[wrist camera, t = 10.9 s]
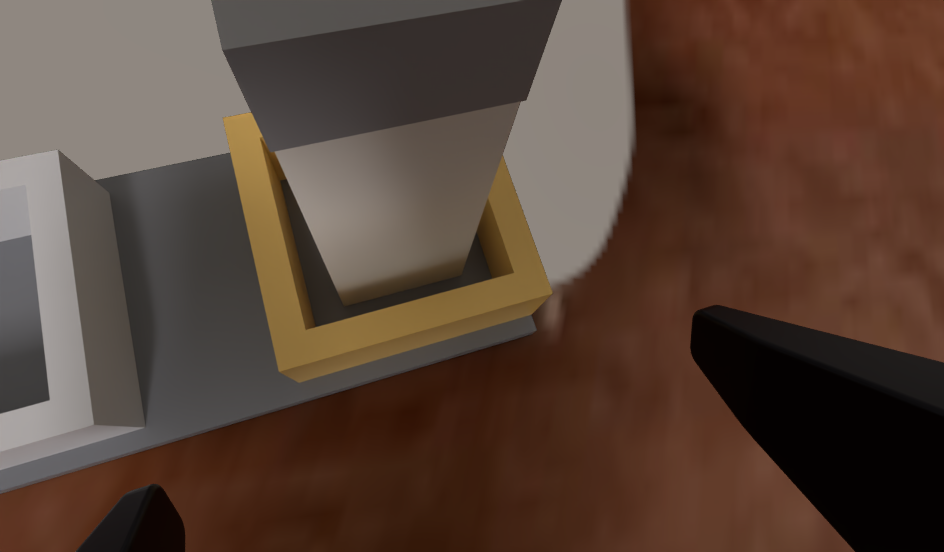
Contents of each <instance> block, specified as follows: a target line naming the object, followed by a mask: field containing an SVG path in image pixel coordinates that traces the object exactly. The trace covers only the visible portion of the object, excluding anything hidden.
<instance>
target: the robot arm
mask: <svg viewBox="0 0 944 552" xmlns="http://www.w3.org/2000/svg"><path fill="white" fill-rule="evenodd" d="M690 349H691V354H692V357H693V359H694V361H695V362H696V364H697V365H698V366H699V368H700V369H701V370H702V372H703V373H704V374H705V376H706V377H707V379H708V380H709V381H710V383H711V384H712V385H713V387H714V388H715V389H716V391H717V392H718V394H719V395H720V396H721V398H722V399H723V400H724V402H725V403H726V404H727V406H728V407H729V409H730V410H731V411H732V413H733V414H734V415H735V417H736V418H737V419H738V421H739V422H740V423H741V424H742V426H743V427H744V428H745V429H746V430H747V432H748V433H749V434H750V435H751V436H752V438H753V439H754V440H755V441H756V442H757V443H758V444H759V445H760V446H761V448H762V449H763V450H764V451H765V452H766V453H767V454H768V455H769V456H770V458H771V459H772V460H773V461H774V462H775V463H776V464H777V465H778V466H779V468H780V469H781V470H782V471H783V472H784V473H785V474H786V475H787V477H788V478H789V479H790V480H791V481H792V482H793V483H794V484H795V485H796V487H797V488H798V489H799V490H800V491H801V492H802V493H803V494H804V495H805V497H806V498H807V499H808V500H809V501H810V502H811V503H812V504H813V505H814V507H815V508H816V509H817V510H818V511H819V512H820V513H821V514H822V515H823V517H824V518H825V519H826V520H827V521H828V522H829V523H830V524H831V525H832V527H833V528H834V529H835V530H836V531H837V532H838V533H839V534H840V535H841V537H842V538H843V539H844V540H845V541H846V542H847V543H848V544H849V545H850V547H851V548H852V549H853V550H854V551H855V552H944V363H943V362H939V361H935V360H931V359H928V358H924V357H920V356H916V355H912V354H908V353H904V352H900V351H896V350H892V349H888V348H884V347H881V346H877V345H873V344H869V343H865V342H861V341H857V340H853V339H849V338H845V337H841V336H838V335H834V334H830V333H826V332H822V331H818V330H814V329H810V328H806V327H802V326H798V325H795V324H791V323H787V322H783V321H779V320H775V319H771V318H767V317H763V316H759V315H755V314H752V313H748V312H744V311H740V310H736V309H732V308H728V307H724V306H720V305H713V306H709V307H706V308H703V309H700V310H698V311H696V312H695V313H694V315H693V319H692V331H691V344H690ZM76 552H185V529H184V524H183V521H182V519H181V517H180V515H179V514H178V512H177V510H176V509H175V507H174V505H173V504H172V502H171V501H170V499H169V497H168V496H167V494H166V493H165V491H164V489H163V488H162V487H161V486H159V485H157V484H151V485H148V486H145V487H142V488H139V489H136V490H132V491H130V492H128V493H126V494H125V495H124V496H123V497H122V498H121V499H120V500H119V501H118V502H117V504H116V505H115V506H114V507H113V508H112V509H111V511H110V512H109V513H108V514H107V515H106V516H105V518H104V519H103V520H102V521H101V522H100V524H99V525H98V526H97V527H96V528H95V529H94V531H93V532H92V533H91V534H90V535H89V536H88V538H87V539H86V540H85V541H84V542H83V543H82V545H81V546H80V547H79V548H78V549H77V551H76Z"/></svg>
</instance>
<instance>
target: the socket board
mask: <svg viewBox="0 0 944 552" xmlns="http://www.w3.org/2000/svg"><path fill="white" fill-rule="evenodd" d="M223 121H224V126H225V130H226V135H227V139H228V144H229V149H230V153H226V154H222V155H217V156H212V157H207V158H202V159H197V160H192V161H188V162H183V163H178V164H173V165H168V166H163V167H159V168H153V169H149V170H143V171H139V172H134V173H129V174H124V175H119V176H115V177H110V178H105V179H100V180H93V179H92V178H91V177H90V176H89V175H87V174H86V173H85V172H84V171H83V170H82V169H80V168H79V167H78V166H77V165H76V164H74V163H73V162H72V161H71V160H70V159H68V158H67V157H66V156H65V155H64V154H63V153H61V152H60V151H59V150H53V151H48V152H42V153H37V154H32V155H26V156H21V157H16V158H11V159H6V160H0V494H1V493H5V492H8V491H11V490H15V489H18V488H21V487H25V486H28V485H31V484H35V483H38V482H41V481H45V480H48V479H51V478H55V477H58V476H61V475H65V474H68V473H71V472H75V471H78V470H81V469H85V468H88V467H91V466H95V465H98V464H101V463H105V462H108V461H111V460H115V459H118V458H121V457H125V456H128V455H131V454H135V453H138V452H141V451H145V450H148V449H151V448H155V447H158V446H161V445H165V444H168V443H171V442H175V441H178V440H181V439H185V438H188V437H191V436H194V435H198V434H201V433H204V432H208V431H211V430H214V429H218V428H221V427H224V426H228V425H231V424H234V423H238V422H241V421H244V420H248V419H251V418H254V417H258V416H261V415H264V414H268V413H271V412H274V411H278V410H281V409H284V408H288V407H291V406H294V405H298V404H301V403H304V402H308V401H311V400H314V399H318V398H321V397H324V396H328V395H331V394H334V393H338V392H341V391H344V390H348V389H351V388H354V387H358V386H361V385H364V384H368V383H371V382H374V381H378V380H381V379H384V378H388V377H391V376H394V375H398V374H401V373H404V372H408V371H411V370H414V369H418V368H421V367H424V366H428V365H431V364H434V363H438V362H441V361H444V360H448V359H451V358H454V357H458V356H461V355H464V354H467V353H471V352H474V351H477V350H481V349H484V348H487V347H491V346H494V345H497V344H501V343H504V342H507V341H511V340H514V339H517V338H521V337H524V336H527V335H531V334H533V333H534V332H535V331H537V329H536V327H535V324H534V321H533V318H532V314H533V313H534V312H535V311H536V310H537V309H538V308H539V307H540V306H541V305H542V304H543V303H544V302H545V301H546V300H547V299H548V298H549V297H550V296H551V295H552V294H553V293H552V290H551V287H550V284H549V282H548V279H547V276H546V273H545V270H544V268H543V265H542V262H541V259H540V257H539V254H538V251H537V248H536V246H535V243H534V240H533V238H532V235H531V232H530V229H529V226H528V224H527V221H526V218H525V215H524V213H523V210H522V207H521V204H520V202H519V199H518V196H517V193H516V190H515V188H514V185H513V183H512V180H511V177H510V174H509V171H508V169H507V166H506V163H505V160H504V157H503V155H502V158H501V161H500V164H499V166H498V169H497V172H496V175H495V178H494V181H493V184H492V187H491V190H490V193H489V196H488V199H487V202H486V204H485V207H484V210H483V213H482V216H481V219H480V222H479V225H478V228H477V231H476V234H475V237H474V240H473V242H472V245H471V248H470V251H469V254H468V257H467V260H466V263H465V266H464V269H463V272H462V275H461V276H457V277H454V278H450V279H446V280H442V281H439V282H435V283H431V284H427V285H424V286H420V287H416V288H412V289H408V290H405V291H401V292H397V293H393V294H390V295H386V296H382V297H378V298H375V299H371V300H367V301H363V302H360V303H356V304H352V305H348V306H344V305H343V303H342V301H341V299H340V296H339V294H338V292H337V290H336V288H335V285H334V283H333V281H332V279H331V276H330V274H329V272H328V270H327V267H326V265H325V263H324V261H323V259H322V256H321V254H320V252H319V250H318V247H317V245H316V243H315V241H314V239H313V236H312V234H311V232H310V230H309V227H308V225H307V223H306V221H305V218H304V216H303V214H302V212H301V210H300V207H299V205H298V203H297V201H296V198H295V196H294V194H293V192H292V189H291V187H290V185H289V183H288V181H287V178H286V176H285V174H284V172H283V169H282V167H281V165H280V163H279V161H278V158H277V156H276V154H275V152H270V151H269V149H268V147H267V145H266V143H265V141H264V138H263V136H262V134H261V132H260V130H259V128H258V125H257V123H256V121H255V119H254V117H253V115H252V113H245V114H240V115H235V116H230V117H224V118H223Z"/></svg>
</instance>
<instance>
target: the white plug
mask: <svg viewBox="0 0 944 552" xmlns="http://www.w3.org/2000/svg"><path fill="white" fill-rule="evenodd" d="M211 1H212V5H213V10H214V15H215V19H216V24H217V28H218V33H219V37H220V42H221V46H222V50H223V52H224V55H225V57H226V58H227V61H228V63H229V65H230V67H231V69H232V72H233V74H234V76H235V78H236V80H237V82H238V85H239V87H240V89H241V91H242V93H243V95H244V98H245V100H246V102H247V104H248V106H249V108H250V110H251V113H252V115H253V117H254V119H255V121H256V123H257V125H258V128H259V130H260V132H261V134H262V136H263V138H264V141H265V143H266V145H267V147H268V149H269V151H270V152H275V154H276V156H277V158H278V161H279V163H280V165H281V167H282V169H283V172H284V174H285V176H286V178H287V181H288V183H289V185H290V187H291V189H292V192H293V194H294V196H295V198H296V201H297V203H298V205H299V207H300V210H301V212H302V214H303V216H304V218H305V221H306V223H307V225H308V227H309V230H310V232H311V234H312V236H313V239H314V241H315V243H316V245H317V247H318V250H319V252H320V254H321V256H322V259H323V261H324V263H325V265H326V267H327V270H328V272H329V274H330V276H331V279H332V281H333V283H334V285H335V288H336V290H337V292H338V294H339V296H340V299H341V301H342V303H343V305H344V306H348V305H352V304H356V303H360V302H363V301H367V300H371V299H375V298H378V297H382V296H386V295H390V294H393V293H397V292H401V291H405V290H408V289H412V288H416V287H420V286H424V285H427V284H431V283H435V282H439V281H442V280H446V279H450V278H454V277H457V276H461V275H462V272H463V269H464V266H465V263H466V260H467V257H468V254H469V251H470V248H471V245H472V242H473V240H474V237H475V234H476V231H477V228H478V225H479V222H480V219H481V216H482V213H483V210H484V207H485V204H486V202H487V199H488V196H489V193H490V190H491V187H492V184H493V181H494V178H495V175H496V172H497V169H498V166H499V164H500V161H501V158H502V155H503V152H504V149H505V146H506V143H507V140H508V137H509V134H510V131H511V129H512V126H513V123H514V120H515V117H516V114H517V111H518V108H519V105H520V102H521V101H525V100H526V99H527V97H528V94H529V91H530V88H531V85H532V83H533V80H534V77H535V74H536V71H537V69H538V66H539V63H540V60H541V57H542V54H543V52H544V49H545V46H546V43H547V41H548V37H549V35H550V32H551V29H552V26H553V24H554V21H555V18H556V15H557V12H558V10H559V7H560V4H561V1H562V0H211Z"/></svg>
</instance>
